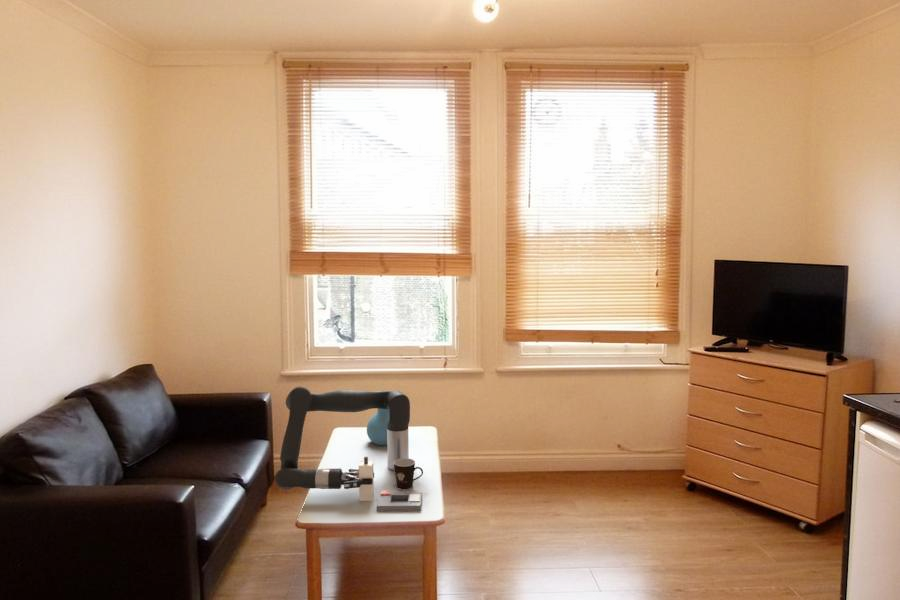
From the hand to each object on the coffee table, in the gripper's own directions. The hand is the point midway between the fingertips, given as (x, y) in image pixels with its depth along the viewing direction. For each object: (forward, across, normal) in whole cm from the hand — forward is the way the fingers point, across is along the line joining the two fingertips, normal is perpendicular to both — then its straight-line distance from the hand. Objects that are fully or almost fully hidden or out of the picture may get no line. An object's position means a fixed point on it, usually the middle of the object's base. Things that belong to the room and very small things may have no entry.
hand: (373, 478), depth 234 cm
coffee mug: (+12, +10, +8) cm, 18 cm away
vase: (-2, +64, +8) cm, 65 cm away
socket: (+10, -5, +8) cm, 14 cm away
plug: (-3, 0, +8) cm, 8 cm away
